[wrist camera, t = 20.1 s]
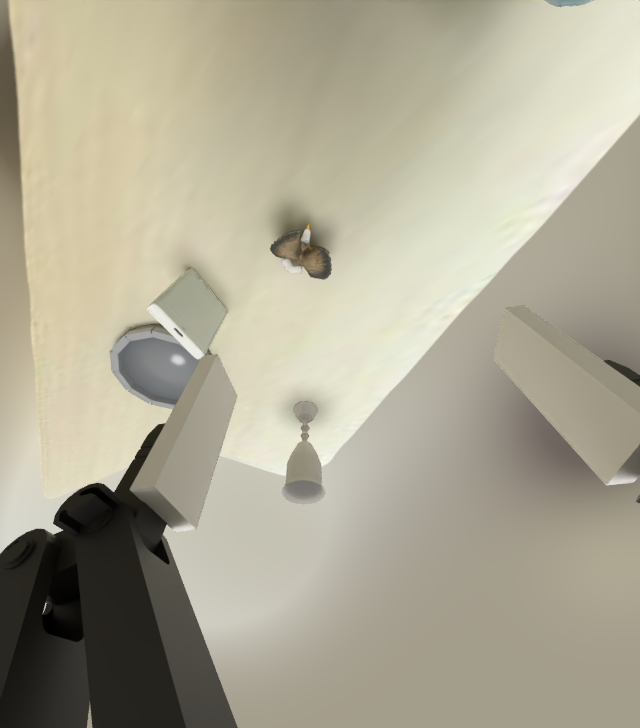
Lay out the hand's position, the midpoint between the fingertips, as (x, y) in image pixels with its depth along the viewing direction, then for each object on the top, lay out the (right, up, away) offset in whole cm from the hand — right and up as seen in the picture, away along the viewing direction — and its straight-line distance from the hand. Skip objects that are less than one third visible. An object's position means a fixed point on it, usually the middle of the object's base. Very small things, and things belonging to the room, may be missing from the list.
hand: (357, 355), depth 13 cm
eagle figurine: (-4, +16, +26) cm, 31 cm away
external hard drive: (-19, +11, +30) cm, 37 cm away
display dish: (-29, -1, +38) cm, 48 cm away
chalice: (-5, -10, +46) cm, 47 cm away
